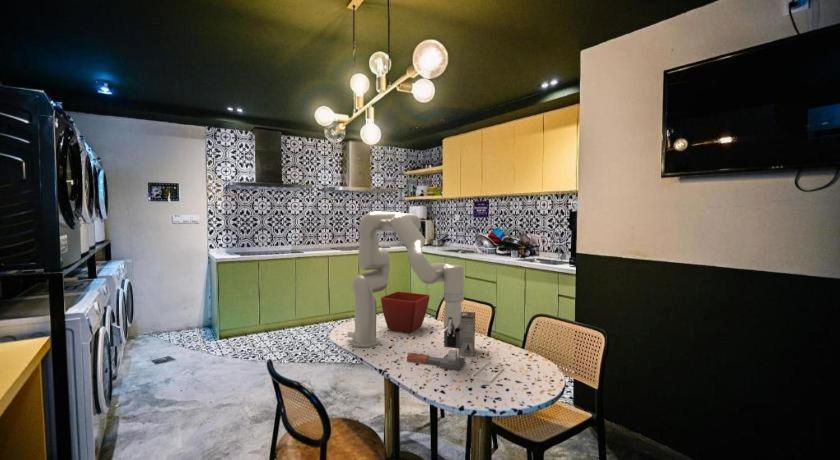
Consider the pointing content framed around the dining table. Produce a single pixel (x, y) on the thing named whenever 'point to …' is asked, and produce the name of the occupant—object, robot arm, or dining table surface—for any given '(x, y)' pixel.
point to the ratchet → (439, 360)
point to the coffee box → (468, 333)
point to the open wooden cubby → (458, 338)
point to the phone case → (486, 379)
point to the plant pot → (404, 311)
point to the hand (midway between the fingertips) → (453, 343)
